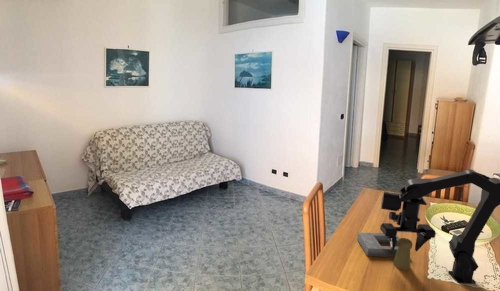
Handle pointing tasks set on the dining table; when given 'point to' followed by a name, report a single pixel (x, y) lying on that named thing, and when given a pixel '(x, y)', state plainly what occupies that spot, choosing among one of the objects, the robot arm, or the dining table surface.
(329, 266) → the dining table surface
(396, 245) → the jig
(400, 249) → the olive pawn
